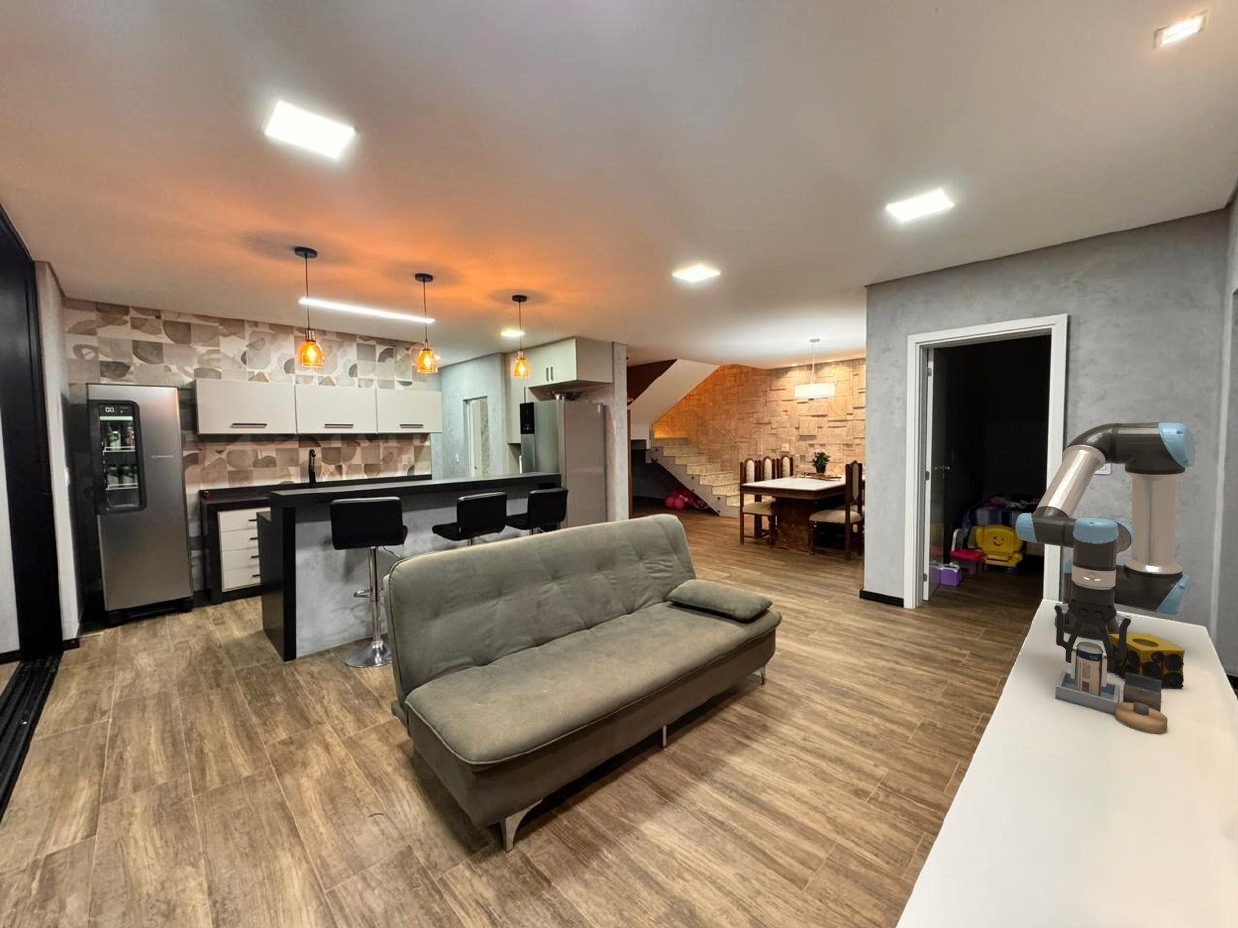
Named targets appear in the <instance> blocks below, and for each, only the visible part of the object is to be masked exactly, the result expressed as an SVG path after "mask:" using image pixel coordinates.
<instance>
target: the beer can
mask: <svg viewBox="0 0 1238 928" xmlns="http://www.w3.org/2000/svg"><path fill="white" fill-rule="evenodd" d="M1076 649H1077V653H1076V675H1075V688H1074V689H1075V690H1076V691H1080V692H1084V693H1088V694H1091V695H1095V696H1099V697H1100V696H1101V682H1102V662H1103V655H1104V651H1105V650H1104V649H1103V648H1102V646H1101V645H1099V644H1097V643H1095V642H1091V641H1079V642H1078V644H1077V645H1076Z"/></svg>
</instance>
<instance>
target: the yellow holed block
mask: <svg viewBox="0 0 1238 928" xmlns="http://www.w3.org/2000/svg"><path fill="white" fill-rule="evenodd" d="M1109 636H1110V639H1111V643H1112V646H1113V650H1114V652H1118V645H1119V634H1109ZM1185 652H1186V651H1185V650H1184V649H1183V648H1181V647H1179V646H1177V645H1174V644H1172V643H1170V642H1167V641H1165V640H1163V639H1161V638H1159V637H1157V636H1154V635H1152V634H1150V633H1127V641H1126V657H1125V659H1124V660H1120V659H1117V660H1115V661H1114V672H1113V673H1112V674H1114V675H1116V676H1118V677H1119V678H1121V679H1123V680H1125V674H1126V672H1129V673H1133V674H1138V675H1142V676H1146V677H1150V678H1155V679H1159V680H1162V684H1161V689H1174V690H1177V689H1180V690H1181V689H1183V688H1184V687H1185V686H1184V680H1185V679H1184V677H1185V676H1184V665H1185V663H1184V656H1185Z"/></svg>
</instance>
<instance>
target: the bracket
mask: <svg viewBox="0 0 1238 928" xmlns="http://www.w3.org/2000/svg"><path fill="white" fill-rule="evenodd" d="M1161 684H1162V680H1159V679H1155V678H1150V677H1146V676H1142V675H1138V674H1133V673H1129V672H1126V674H1125V679H1124V683H1123V691H1122V695H1123V696H1122V702H1127V703H1135V702H1138V703H1143V704H1145V705H1147V706H1149V708H1152V709H1154V710H1157V711H1159V712H1160V713H1162V712H1161V709H1162V688H1161Z"/></svg>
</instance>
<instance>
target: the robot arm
mask: <svg viewBox="0 0 1238 928" xmlns="http://www.w3.org/2000/svg"><path fill="white" fill-rule="evenodd" d="M1195 455H1196V446H1195V441H1194V436H1193V434H1192V431H1191V429H1190V428H1189V426H1187V425H1186V424H1183V423H1181V422H1180V423H1179V422H1164V421H1163V422H1161V421H1160V422H1125V423H1124V422H1123V423H1122V422H1121V423H1119V422H1110V423H1105V424H1101V425H1100V424H1099V425H1097V426H1094V427H1092V428H1089V429H1087V430H1086V431H1084V432H1082V433H1081V434H1079V435H1078V436H1076V437H1075V438H1074V439H1072V440H1071V441H1070V443H1068V444H1067V446H1066V447H1065V448H1064V450H1063V452H1062V455H1061V458H1062V462H1061V464H1060V466H1059V468H1058V469H1057V472H1056V473H1055V475H1054V477H1053V478H1052V480H1051V482H1050V484H1049V486H1048V487H1047V489H1046V490H1045V493H1044V495H1043V496H1042V498H1041V500H1040V501H1039V503H1038V505H1037V507H1036V509H1035V511H1034V512H1033V513H1031V512H1029V513H1028V512H1025V513H1024V512H1023V513H1021V514H1019V515H1018V516H1017V518H1016V521H1015V533H1016V536H1017V538H1018V539H1019V540H1022V541H1026V542H1031V543H1035V544H1042V545H1049V546H1057V547H1064V548H1069V549H1072V556H1071V557H1068V558H1067V559H1065V561H1064V569H1063V587H1062V590H1063V591H1062V603H1056V604H1055V605H1054V607H1053V609H1054V611H1055V614H1056V615H1055V617H1054V626H1055V627H1056V631H1055V632H1056V633H1055V644H1056V646H1059V647H1062V648H1063V649H1064V650H1065V655H1064V657H1065V658H1064V660H1065V663H1066V664H1070V673H1071V678H1072V679H1075V675H1076V653H1077V648H1074V646H1075V643H1076V640H1077V638H1078V637H1079V638H1084V639H1091V640H1096V641H1097V640H1098V641H1102V645H1103V649H1104V651H1105V654H1103V662H1102V682H1101V686H1103V687H1106V683H1107V682H1108V673H1109V674H1114V673H1113V672H1114V661H1115V660H1117V659H1120V660H1124V659H1125V657H1126V641H1127V634H1128V628H1129V626H1130V625H1131V623H1132V617H1131V616H1130V615H1123V614H1121V613H1119V612H1118V611H1117V610H1116V607H1115V605H1119V606H1124V607H1129V608H1133V609H1139V610H1143V611H1149V612H1153V613H1155V614H1162V615H1163V614H1164V615H1169V616H1176V615H1177V616H1178V615H1179V614H1180V613H1181V612H1182V610H1183V609H1184V607H1185V606H1186V605H1185V604H1186V603H1187V599H1188V596H1189V594H1190V590H1191V585H1192V577H1191V576H1189V575H1186V574H1183V567H1182V566H1181V565H1180V564H1178V562H1176V561H1175V559H1176V558H1175V554H1176V553H1175V552H1176V523H1177V521H1176V518H1177V515H1176V514H1177V512H1176V511H1177V484H1178V483H1177V482H1178V481H1177V479H1178V478H1179V477H1180V476H1183V475H1184V474H1185V473H1186V468H1190V467H1192V466H1194V464H1195V461H1196V456H1195ZM1108 464H1114V465H1124V472H1125V473H1126V474H1127V475H1128V476H1130V477H1131V527H1130V526H1129V525H1128V524H1126V523H1124V522H1122V521H1120V520H1114V519H1113V520H1112V519H1106V518H1099V517H1079V518H1072V517H1073V515H1074V514H1075V511H1076V509H1077V508H1078V506H1079V504H1080V502H1081V500H1082V498H1083V496H1084V494H1085V493H1086V491H1087V489H1088V487H1089V486H1090V483H1091V481H1092V480H1093V477H1094V475H1095V473H1096V471H1100V470H1101V469H1102V468H1103V467H1104V466H1105V465H1108ZM1129 548H1130V552H1131V553H1130V557H1129V558H1126V559H1125V560H1124V561H1123V565H1122V564H1118V562H1117V558H1118V557H1117V556H1118V554H1119V553H1121V552H1125V551H1126V550H1128V549H1129ZM1065 633H1066V634H1069V635H1070V636H1069V638H1068V640H1067V641H1066V640H1065ZM1109 634H1119V645H1118V652H1114V650H1113V646H1112V643H1111V639H1110V636H1109Z"/></svg>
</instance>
